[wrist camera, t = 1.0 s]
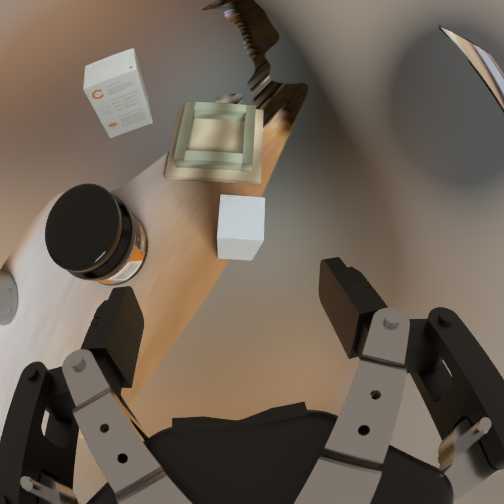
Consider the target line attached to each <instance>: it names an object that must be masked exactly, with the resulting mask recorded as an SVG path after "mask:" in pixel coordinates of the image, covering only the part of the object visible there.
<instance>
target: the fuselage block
mask: <svg viewBox="0 0 504 504" xmlns="http://www.w3.org/2000/svg"><path fill="white" fill-rule="evenodd" d="M264 214H265V198H260V197H248V196H236V195H221V196H220V208H219V219H218V232H217V247H218V258H222V259H237V260H252V259H253V257H254V255H255V254H256V252H257V251H258V249H259V247H260V246H261V244H262V242H263V241H264Z"/></svg>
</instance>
